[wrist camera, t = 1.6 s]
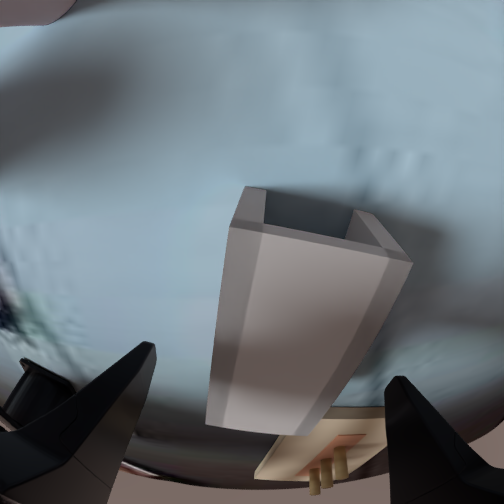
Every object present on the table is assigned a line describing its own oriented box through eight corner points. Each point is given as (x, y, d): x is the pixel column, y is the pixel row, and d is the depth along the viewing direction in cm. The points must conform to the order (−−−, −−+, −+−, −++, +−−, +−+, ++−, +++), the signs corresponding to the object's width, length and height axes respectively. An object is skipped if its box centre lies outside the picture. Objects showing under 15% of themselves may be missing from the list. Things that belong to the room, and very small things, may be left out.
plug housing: (217, 363, 15) (205, 424, 11) (244, 185, 10) (229, 226, 7) (304, 376, 15) (307, 436, 11) (371, 212, 10) (413, 263, 7)
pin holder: (254, 471, 24) (252, 501, 20) (297, 405, 16) (299, 458, 13) (339, 472, 24) (341, 500, 20) (418, 404, 16) (431, 446, 13)
